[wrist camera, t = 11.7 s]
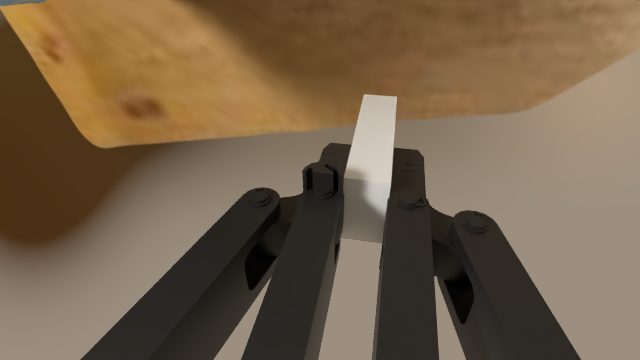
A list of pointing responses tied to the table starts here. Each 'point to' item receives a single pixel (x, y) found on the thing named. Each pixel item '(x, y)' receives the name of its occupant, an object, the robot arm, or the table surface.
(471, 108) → the table surface
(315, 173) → the robot arm
